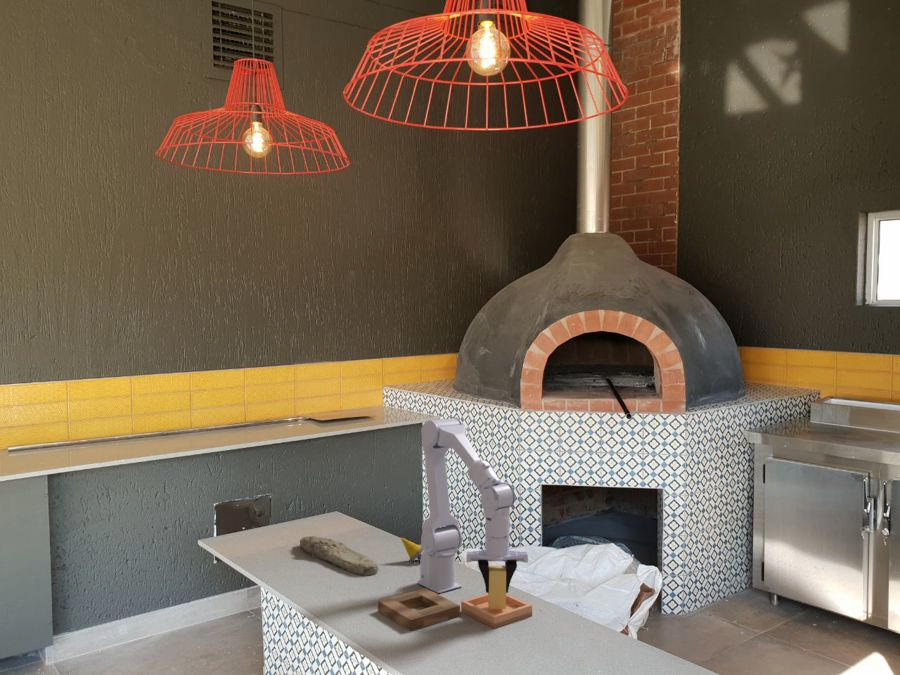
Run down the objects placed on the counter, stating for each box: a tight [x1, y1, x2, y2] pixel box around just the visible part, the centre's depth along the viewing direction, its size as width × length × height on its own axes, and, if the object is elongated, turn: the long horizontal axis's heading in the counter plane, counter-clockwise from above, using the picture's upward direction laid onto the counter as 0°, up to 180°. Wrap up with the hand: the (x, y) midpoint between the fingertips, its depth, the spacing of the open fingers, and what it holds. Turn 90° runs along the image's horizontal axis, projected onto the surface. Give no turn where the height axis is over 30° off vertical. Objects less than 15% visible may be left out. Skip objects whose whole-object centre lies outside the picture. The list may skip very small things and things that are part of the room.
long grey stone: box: [299, 535, 379, 576], centre depth 217 cm, size 35×5×10 cm
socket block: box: [377, 587, 461, 632], centre depth 179 cm, size 14×14×2 cm
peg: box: [487, 564, 507, 609], centre depth 179 cm, size 4×4×9 cm
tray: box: [460, 593, 533, 629], centre depth 179 cm, size 12×12×2 cm
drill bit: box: [400, 536, 424, 563], centre depth 216 cm, size 5×5×10 cm
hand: (496, 591), depth 179 cm, fingers closed on peg, 4 cm apart
